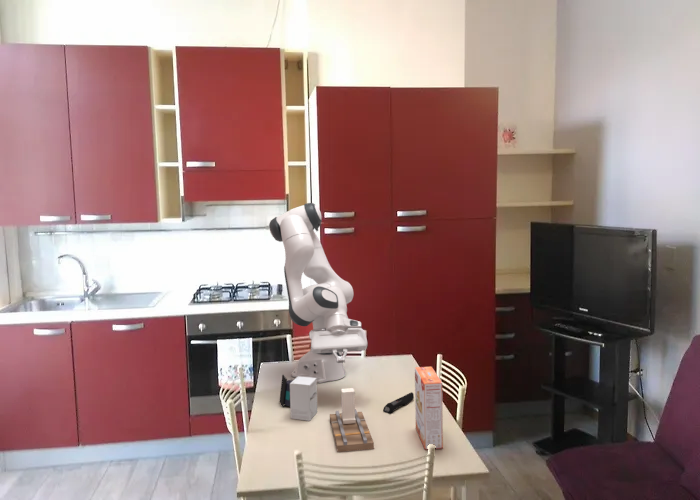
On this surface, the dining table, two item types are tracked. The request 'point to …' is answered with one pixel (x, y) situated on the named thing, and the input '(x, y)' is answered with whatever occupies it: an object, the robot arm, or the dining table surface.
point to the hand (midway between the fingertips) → (340, 362)
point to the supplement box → (303, 398)
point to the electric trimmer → (398, 403)
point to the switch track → (351, 433)
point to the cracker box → (429, 407)
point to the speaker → (285, 392)
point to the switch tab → (348, 405)
